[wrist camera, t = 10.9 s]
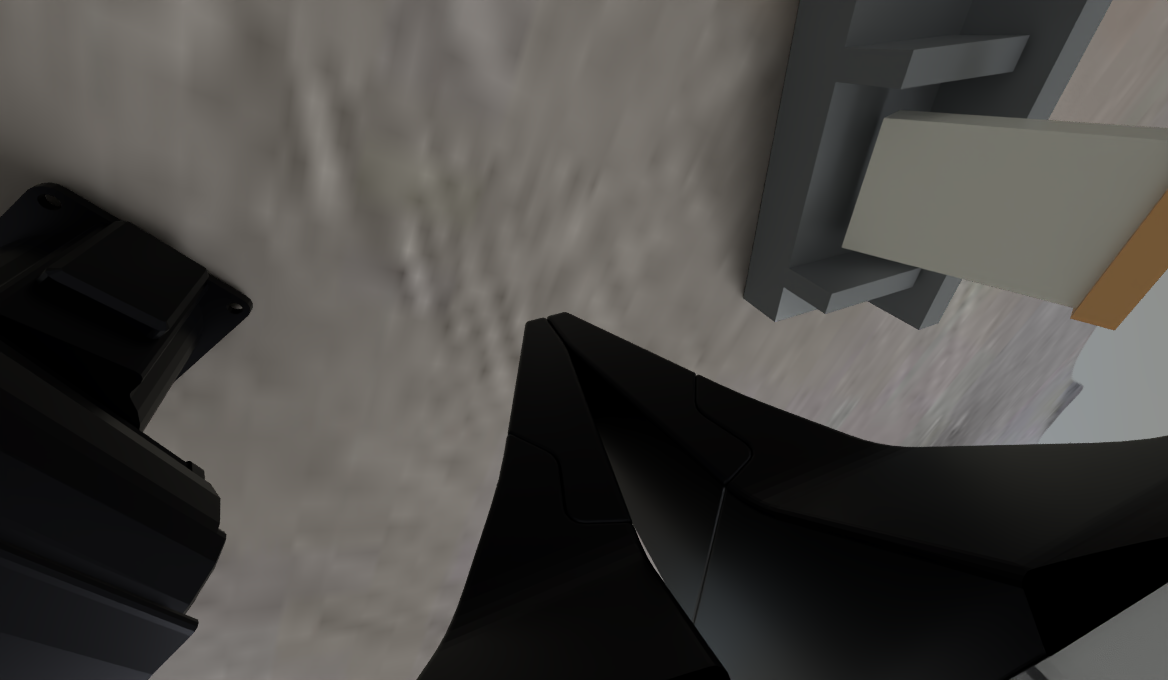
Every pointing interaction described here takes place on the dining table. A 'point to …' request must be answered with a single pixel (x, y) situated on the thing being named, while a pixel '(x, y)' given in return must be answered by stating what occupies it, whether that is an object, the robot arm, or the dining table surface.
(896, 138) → the breaker lever
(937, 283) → the breaker box
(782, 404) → the dining table surface
